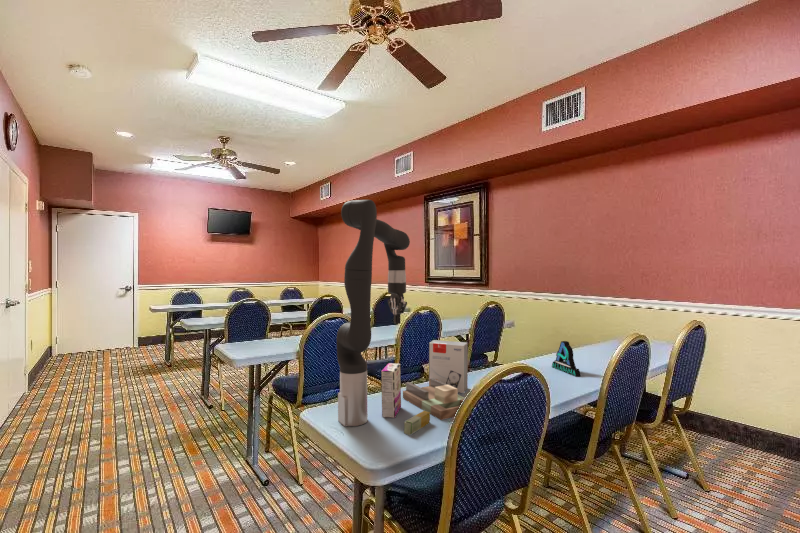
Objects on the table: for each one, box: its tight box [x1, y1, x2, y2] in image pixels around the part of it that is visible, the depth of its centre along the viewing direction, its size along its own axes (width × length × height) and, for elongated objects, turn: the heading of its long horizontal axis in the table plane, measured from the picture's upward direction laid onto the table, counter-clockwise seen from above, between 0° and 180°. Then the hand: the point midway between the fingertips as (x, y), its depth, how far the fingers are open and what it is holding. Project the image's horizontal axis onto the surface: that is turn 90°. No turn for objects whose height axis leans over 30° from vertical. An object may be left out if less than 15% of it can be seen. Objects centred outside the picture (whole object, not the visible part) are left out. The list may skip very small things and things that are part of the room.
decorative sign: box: [551, 340, 582, 378], centre depth 197 cm, size 19×2×15 cm, turn 14°
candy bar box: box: [380, 362, 402, 419], centre depth 144 cm, size 11×5×16 cm, turn 168°
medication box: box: [403, 410, 431, 436], centre depth 130 cm, size 12×3×4 cm, turn 145°
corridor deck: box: [402, 378, 466, 421], centre depth 152 cm, size 16×26×6 cm, turn 29°
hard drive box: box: [428, 339, 469, 394], centre depth 171 cm, size 16×8×20 cm, turn 68°
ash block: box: [435, 385, 459, 404], centre depth 148 cm, size 6×6×4 cm
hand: (397, 323), depth 165 cm, fingers closed
